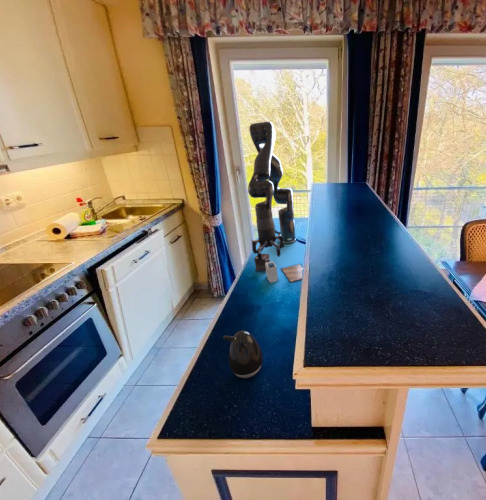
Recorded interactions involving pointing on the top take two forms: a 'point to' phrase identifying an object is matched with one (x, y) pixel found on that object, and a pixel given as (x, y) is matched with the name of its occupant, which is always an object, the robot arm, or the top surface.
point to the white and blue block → (271, 271)
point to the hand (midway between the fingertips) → (269, 258)
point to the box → (261, 262)
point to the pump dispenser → (244, 354)
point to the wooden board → (293, 272)
